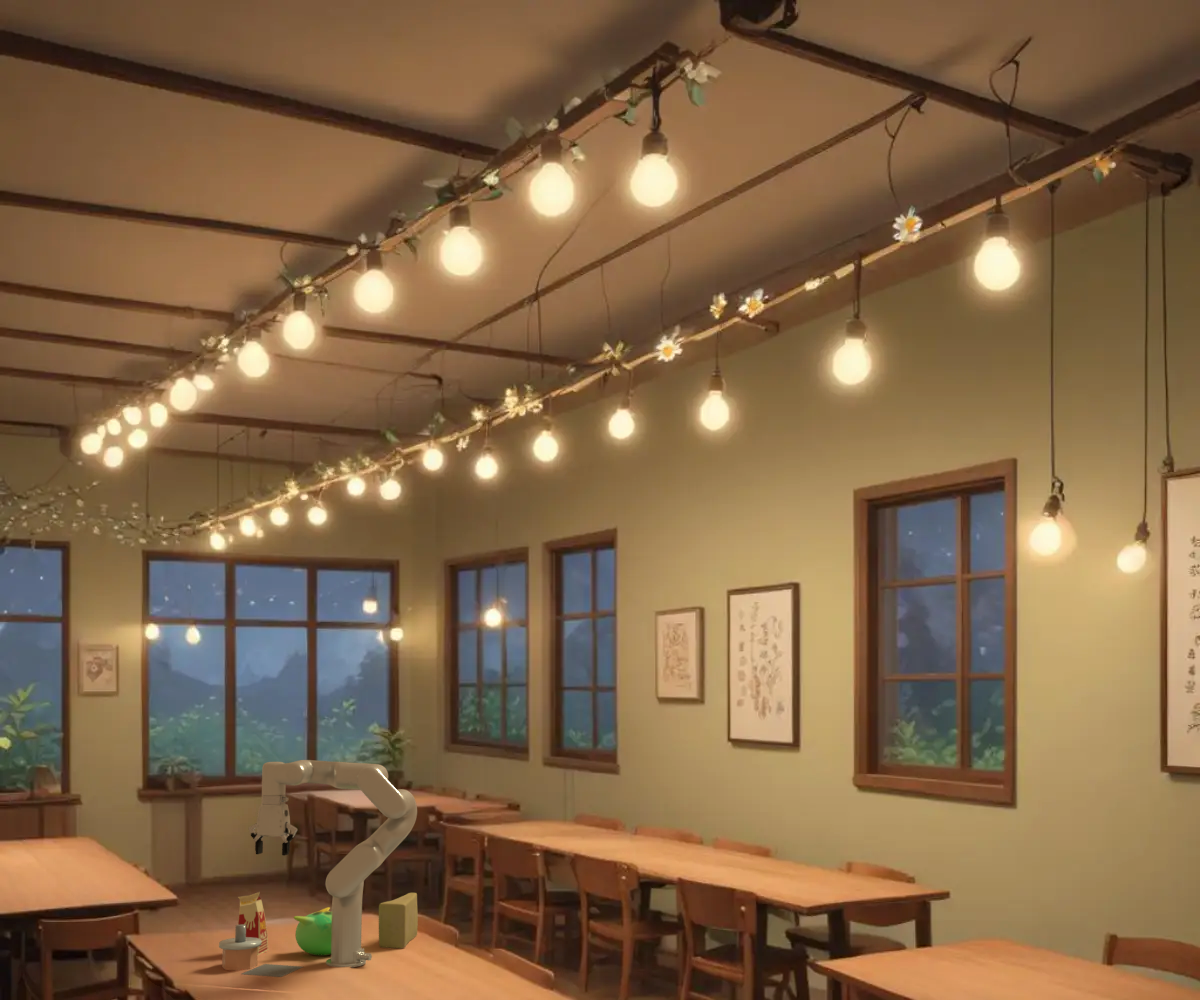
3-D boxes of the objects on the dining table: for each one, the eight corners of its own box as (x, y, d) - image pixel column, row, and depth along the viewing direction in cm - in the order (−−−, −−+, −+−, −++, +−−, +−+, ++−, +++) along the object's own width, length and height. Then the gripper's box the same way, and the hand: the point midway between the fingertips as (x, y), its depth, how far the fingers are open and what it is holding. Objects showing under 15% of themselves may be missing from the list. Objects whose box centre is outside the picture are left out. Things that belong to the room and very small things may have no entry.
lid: (269, 942, 421) (269, 922, 422) (247, 950, 409) (247, 930, 410) (233, 940, 425) (234, 920, 426) (210, 948, 413) (211, 928, 414)
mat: (303, 968, 415) (303, 966, 415) (280, 978, 402) (280, 976, 402) (264, 965, 419) (264, 963, 419) (240, 975, 406) (240, 973, 406)
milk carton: (268, 951, 441) (269, 889, 443) (258, 957, 432) (260, 894, 434) (242, 950, 442) (243, 889, 444) (231, 956, 433) (233, 894, 435)
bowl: (262, 965, 420) (262, 943, 420) (244, 972, 410) (245, 949, 411) (234, 963, 423) (235, 941, 423) (216, 970, 413) (217, 947, 414)
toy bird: (356, 949, 442) (356, 904, 444) (341, 961, 425) (342, 914, 427) (303, 948, 444) (304, 904, 445) (287, 960, 427) (288, 913, 429)
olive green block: (402, 934, 466) (402, 891, 468) (428, 935, 464) (428, 892, 466) (377, 947, 445) (378, 902, 447) (404, 949, 443) (404, 903, 445)
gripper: (302, 800, 429) (301, 853, 427) (256, 798, 434) (255, 851, 432) (291, 802, 422) (289, 857, 420) (243, 801, 427) (242, 855, 425)
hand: (272, 854), depth 426 cm, fingers open, 9 cm apart
